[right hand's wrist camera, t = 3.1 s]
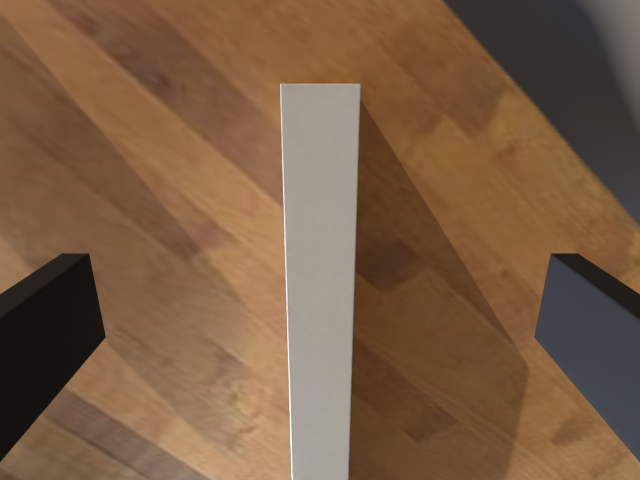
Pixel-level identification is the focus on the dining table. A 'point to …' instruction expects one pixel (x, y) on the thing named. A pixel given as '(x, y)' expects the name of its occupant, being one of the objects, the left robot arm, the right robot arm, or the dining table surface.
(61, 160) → the dining table surface
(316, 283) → the bar
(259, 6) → the dining table surface
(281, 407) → the dining table surface
